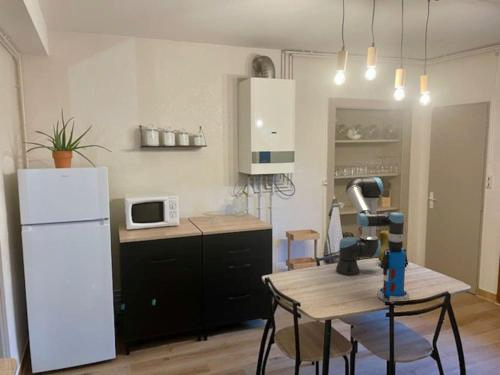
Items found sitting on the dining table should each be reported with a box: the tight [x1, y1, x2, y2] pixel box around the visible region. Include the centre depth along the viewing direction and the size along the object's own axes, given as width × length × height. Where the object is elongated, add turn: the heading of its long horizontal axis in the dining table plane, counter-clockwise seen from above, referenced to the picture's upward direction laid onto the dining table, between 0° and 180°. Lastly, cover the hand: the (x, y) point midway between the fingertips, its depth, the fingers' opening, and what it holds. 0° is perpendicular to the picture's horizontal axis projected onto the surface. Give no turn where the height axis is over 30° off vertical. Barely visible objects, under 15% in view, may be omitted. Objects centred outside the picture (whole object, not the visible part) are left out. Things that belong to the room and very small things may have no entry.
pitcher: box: [377, 230, 389, 263], centre depth 277 cm, size 17×19×25 cm
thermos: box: [382, 249, 407, 297], centre depth 216 cm, size 11×11×25 cm
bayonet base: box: [376, 286, 410, 303], centre depth 217 cm, size 17×17×4 cm
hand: (393, 279), depth 216 cm, fingers closed on thermos, 11 cm apart
